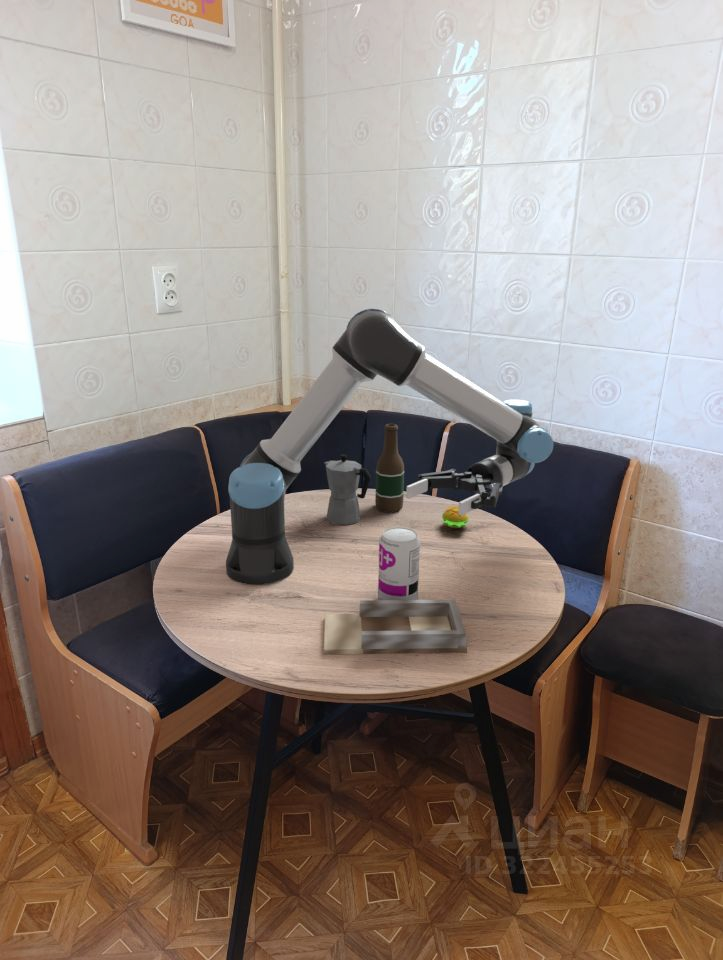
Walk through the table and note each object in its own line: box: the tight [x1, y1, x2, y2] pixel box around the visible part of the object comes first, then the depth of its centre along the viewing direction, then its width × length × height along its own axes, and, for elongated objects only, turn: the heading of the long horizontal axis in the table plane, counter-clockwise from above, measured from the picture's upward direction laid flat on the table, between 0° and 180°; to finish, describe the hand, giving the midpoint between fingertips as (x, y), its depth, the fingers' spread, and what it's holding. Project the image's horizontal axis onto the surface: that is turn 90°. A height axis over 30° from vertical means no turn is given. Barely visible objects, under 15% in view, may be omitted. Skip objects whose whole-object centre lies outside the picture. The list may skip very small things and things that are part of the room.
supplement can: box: [377, 526, 421, 600], centre depth 135 cm, size 8×8×15 cm
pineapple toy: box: [441, 506, 469, 529], centre depth 171 cm, size 7×10×5 cm
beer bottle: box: [374, 423, 405, 514], centre depth 181 cm, size 8×8×24 cm
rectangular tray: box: [323, 599, 468, 655], centre depth 125 cm, size 26×12×4 cm, turn 92°
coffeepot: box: [323, 454, 372, 526], centre depth 174 cm, size 15×9×18 cm, turn 51°
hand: (433, 500), depth 138 cm, fingers open, 13 cm apart
